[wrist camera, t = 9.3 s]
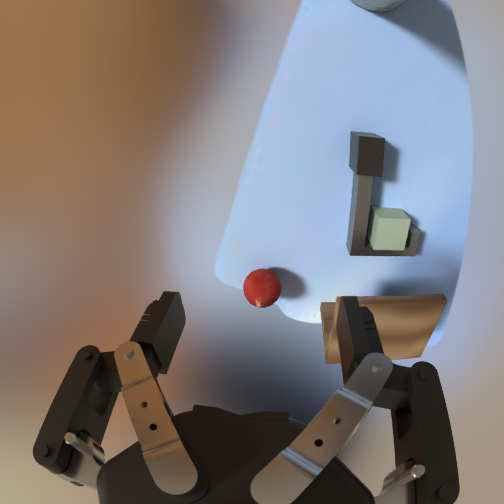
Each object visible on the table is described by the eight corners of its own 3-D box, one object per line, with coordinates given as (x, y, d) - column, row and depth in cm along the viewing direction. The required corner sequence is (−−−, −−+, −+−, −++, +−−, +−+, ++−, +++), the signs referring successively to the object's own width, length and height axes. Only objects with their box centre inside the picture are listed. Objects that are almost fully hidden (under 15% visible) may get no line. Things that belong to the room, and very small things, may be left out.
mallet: (350, 131, 34) (358, 136, 30) (425, 140, 33) (439, 146, 29) (342, 245, 43) (347, 260, 39) (408, 246, 42) (418, 261, 38)
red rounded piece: (288, 272, 47) (288, 305, 40) (267, 293, 49) (263, 326, 42) (260, 252, 45) (255, 283, 38) (239, 275, 48) (232, 307, 41)
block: (371, 206, 39) (379, 217, 36) (401, 208, 39) (410, 219, 35) (367, 236, 42) (373, 249, 38) (395, 237, 41) (403, 250, 38)
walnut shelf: (327, 251, 44) (338, 304, 33) (417, 252, 42) (447, 300, 31) (320, 308, 50) (325, 363, 39) (400, 306, 48) (420, 357, 38)
